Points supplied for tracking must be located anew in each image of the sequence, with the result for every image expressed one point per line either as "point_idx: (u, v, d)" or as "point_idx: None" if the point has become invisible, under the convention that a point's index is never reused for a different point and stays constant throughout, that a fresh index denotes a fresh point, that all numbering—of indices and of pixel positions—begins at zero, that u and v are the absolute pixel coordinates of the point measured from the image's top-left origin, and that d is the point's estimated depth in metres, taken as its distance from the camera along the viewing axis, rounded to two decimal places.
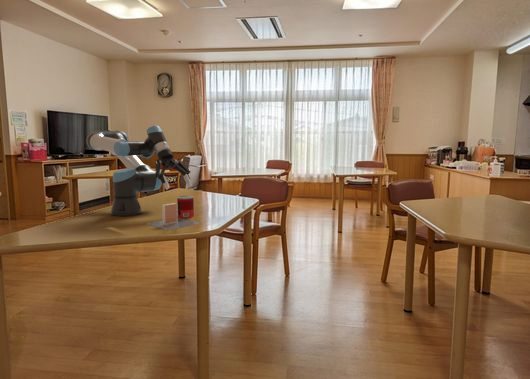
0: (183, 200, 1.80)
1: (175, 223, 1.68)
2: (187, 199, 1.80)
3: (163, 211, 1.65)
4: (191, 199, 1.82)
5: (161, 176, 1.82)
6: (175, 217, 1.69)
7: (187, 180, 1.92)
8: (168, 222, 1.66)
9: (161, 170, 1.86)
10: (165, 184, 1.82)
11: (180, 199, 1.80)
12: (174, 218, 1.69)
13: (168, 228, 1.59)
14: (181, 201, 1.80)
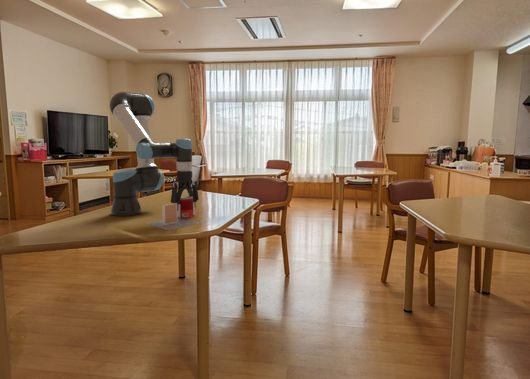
0: (182, 200, 1.80)
1: (175, 223, 1.68)
2: (186, 199, 1.80)
3: (163, 211, 1.65)
4: (191, 199, 1.82)
5: None
6: (175, 217, 1.69)
7: None
8: (168, 222, 1.66)
9: (176, 193, 1.81)
10: (177, 212, 1.81)
11: None
12: (174, 218, 1.69)
13: (168, 228, 1.59)
14: (180, 201, 1.80)
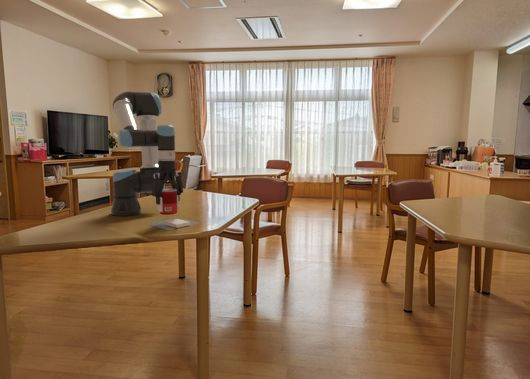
0: (165, 193, 1.63)
1: None
2: (169, 192, 1.64)
3: (173, 225, 1.61)
4: (174, 192, 1.65)
5: (158, 197, 1.63)
6: None
7: None
8: None
9: (158, 185, 1.64)
10: (159, 206, 1.64)
11: (162, 192, 1.63)
12: None
13: (168, 228, 1.59)
14: (163, 194, 1.63)
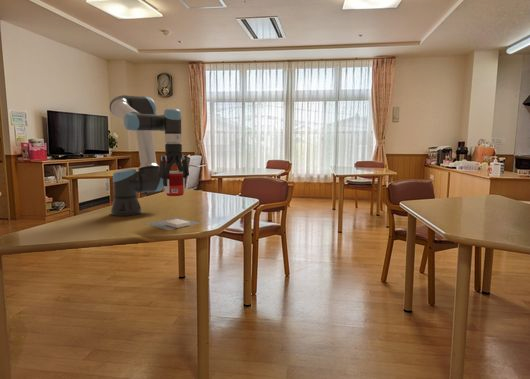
0: (172, 175, 1.69)
1: None
2: (176, 174, 1.69)
3: (173, 225, 1.61)
4: (180, 174, 1.71)
5: (165, 179, 1.68)
6: None
7: None
8: None
9: None
10: (166, 187, 1.70)
11: (169, 174, 1.69)
12: None
13: (168, 228, 1.59)
14: (170, 176, 1.69)
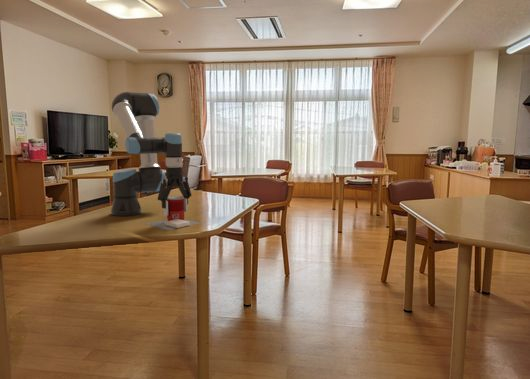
0: (173, 201, 1.70)
1: None
2: (177, 200, 1.71)
3: (173, 225, 1.61)
4: (181, 200, 1.72)
5: (164, 201, 1.69)
6: None
7: (184, 205, 1.78)
8: None
9: (165, 190, 1.71)
10: (164, 210, 1.70)
11: (169, 200, 1.71)
12: None
13: (168, 228, 1.59)
14: (170, 202, 1.70)
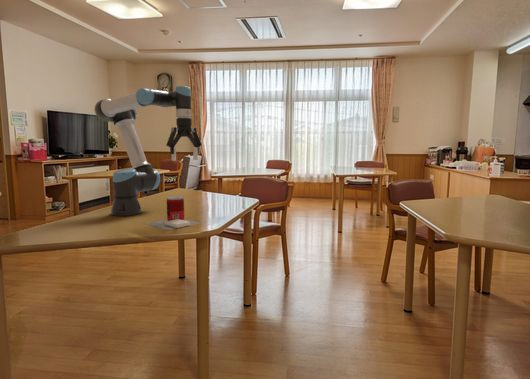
0: (173, 201, 1.70)
1: None
2: (177, 200, 1.71)
3: (173, 225, 1.61)
4: (181, 200, 1.72)
5: (172, 147, 1.81)
6: None
7: (195, 153, 1.93)
8: None
9: (174, 138, 1.84)
10: (173, 155, 1.83)
11: (169, 200, 1.71)
12: None
13: (168, 228, 1.59)
14: (170, 202, 1.70)
